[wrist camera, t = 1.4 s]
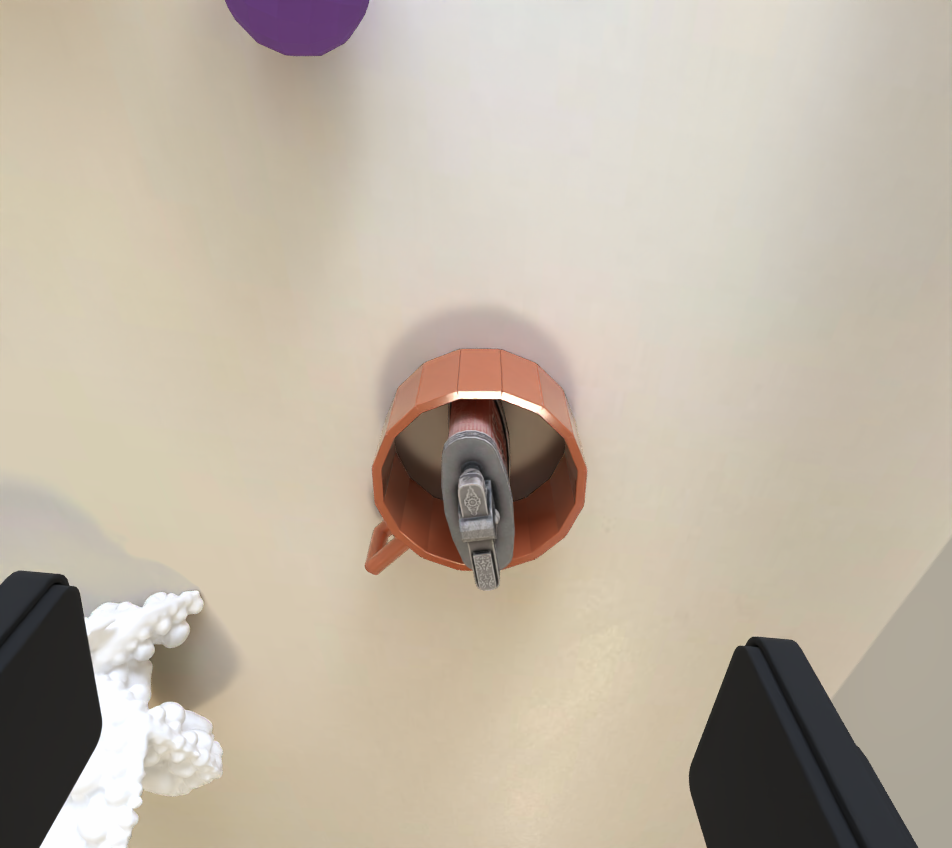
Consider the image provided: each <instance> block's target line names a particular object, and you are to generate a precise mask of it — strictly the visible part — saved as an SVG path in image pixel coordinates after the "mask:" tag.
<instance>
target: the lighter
mask: <svg viewBox="0 0 952 848" xmlns="http://www.w3.org/2000/svg"><path fill="white" fill-rule="evenodd" d="M448 426H449V435H448V440H447V441H446V442H445V444H444V448H443V453H442V479H441V487H442V495H443V503H444V511H445V516H446V519H447V522H448V526H449V529H450V532H451V536H452V539H453V541H454V543H455V545H456V548H457V550H458V552H459V554H460V556H461V559H462V561H463V562H464V564H465V565H466V566H467V567H468V568H470V569H471V570H473V574H474V579H475V584H476V586H477V588H478V589H480V590H483V591H488V590H494V589H496V588H498V587H499V585H500V570H502V569H503V568H505V567H507V565H508V564H509V563H510V562H511V560H512V557H513V548H514V535H515V527H514V512H513V497H512V493H511V488H510V484H509V481H510V467H511V460H510V445H509V432H508V428H507V423H506V419H505V415H504V410H503V407H502V404H501V402H500V399H458V400H456V401H453V402H450V403H449V407H448Z"/></svg>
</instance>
